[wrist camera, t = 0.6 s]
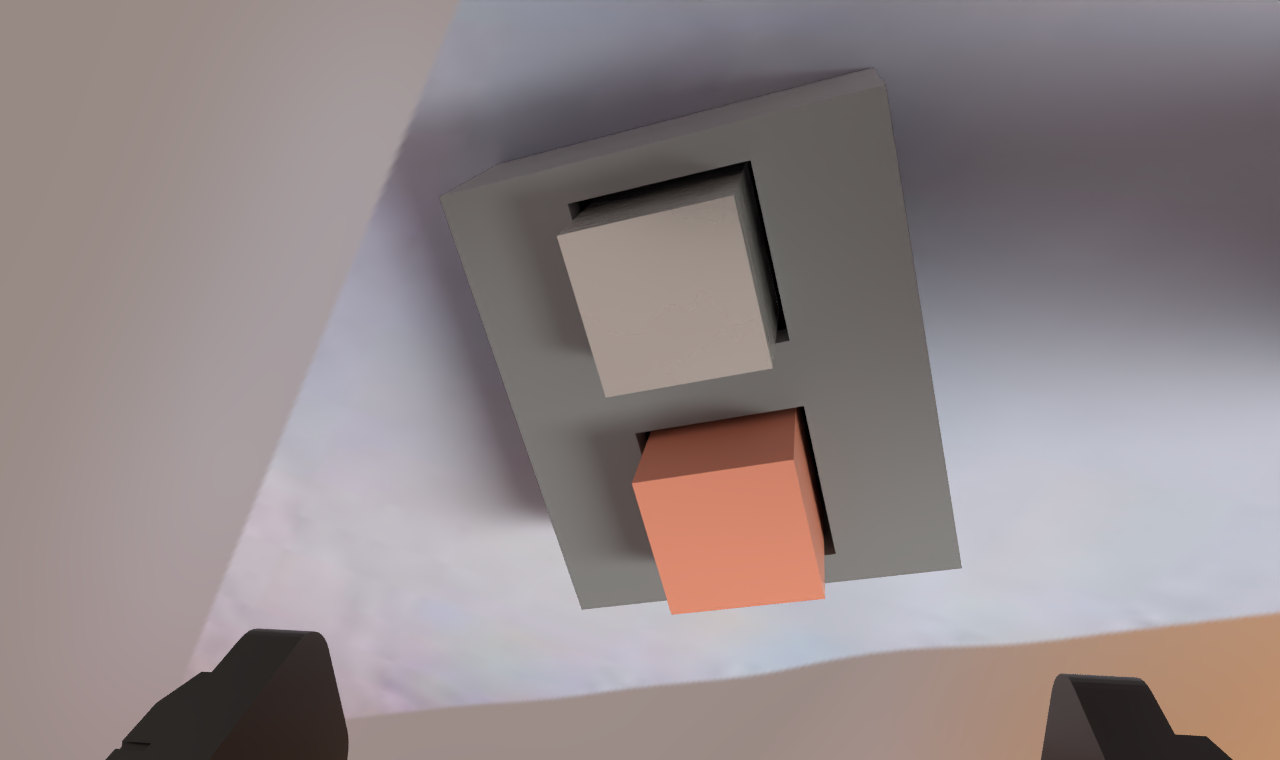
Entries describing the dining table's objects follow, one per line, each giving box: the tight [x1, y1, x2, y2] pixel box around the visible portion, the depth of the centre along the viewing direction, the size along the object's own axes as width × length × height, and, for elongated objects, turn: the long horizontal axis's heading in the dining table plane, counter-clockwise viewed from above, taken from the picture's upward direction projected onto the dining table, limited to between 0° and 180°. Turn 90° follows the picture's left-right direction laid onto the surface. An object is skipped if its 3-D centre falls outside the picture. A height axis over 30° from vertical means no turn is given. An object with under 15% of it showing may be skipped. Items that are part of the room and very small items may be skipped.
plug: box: [557, 161, 779, 397], centre depth 24 cm, size 4×4×4 cm
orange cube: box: [632, 407, 825, 615], centre depth 26 cm, size 4×4×4 cm
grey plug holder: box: [439, 68, 962, 609], centre depth 27 cm, size 12×14×5 cm
